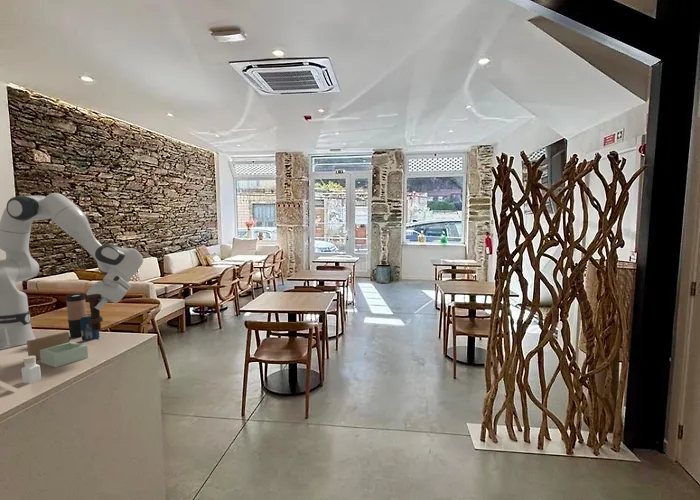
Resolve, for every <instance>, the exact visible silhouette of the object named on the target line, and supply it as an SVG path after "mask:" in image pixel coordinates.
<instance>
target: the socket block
mask: <svg viewBox="0 0 700 500" xmlns="http://www.w3.org/2000/svg"><path fill="white" fill-rule="evenodd" d="M88 352H89V351H88V345H87V344H82V343H79V342H76V341H70V342H68V343H64V344H61V345H57V346H53V347H49V348H45V349H41V350H40V358H41V359H40V363H41V364H43V365H48V366H50V367H52V368H58V367H62V366H65V365H69V364H72V363H75V362H78V361H82V360H85V359H88V358H89V353H88Z"/></svg>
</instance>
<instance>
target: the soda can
mask: <svg viewBox="0 0 700 500" xmlns="http://www.w3.org/2000/svg"><path fill="white" fill-rule="evenodd" d="M90 318H91V313H87V315H83V316H81V320H80V324H81V336H82V337H81V340H82V342H85V341H86V342H88V341H94V340H97V341H98V340H99V339H100V330H99V331H93V330H92V323H90V322H89V319H90Z"/></svg>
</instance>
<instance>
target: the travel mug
mask: <svg viewBox="0 0 700 500" xmlns="http://www.w3.org/2000/svg"><path fill="white" fill-rule="evenodd" d="M65 299H66V310H67V312H66V313H67V323H68V330H69V331H68V332H69V338H72V339H77V338H82V336H81V324H80V320H81V316H83V315H87V314H88V313H87V304H86V303H87V302H86V301H87V300H86V294H85V293H80V294H77V293H73V294H67V295H66V296H65Z"/></svg>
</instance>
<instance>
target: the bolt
mask: <svg viewBox="0 0 700 500" xmlns="http://www.w3.org/2000/svg"><path fill="white" fill-rule="evenodd" d="M99 299H101V295H100V294H92V295H85V301H89V304H90V308H89V311H90V314H91V318H90V319H89V322H90V323H92V330H93V331H99V332H100V330H102V326H101V323H102V322H103V321H104V320H103V319H104V318H103V316H101V315H100V314H101V313H100V309H99V310H97V309H95V308H94V306H95V305H96V304H98V303H99V302H100V300H99ZM89 304H88V305H89Z"/></svg>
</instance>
